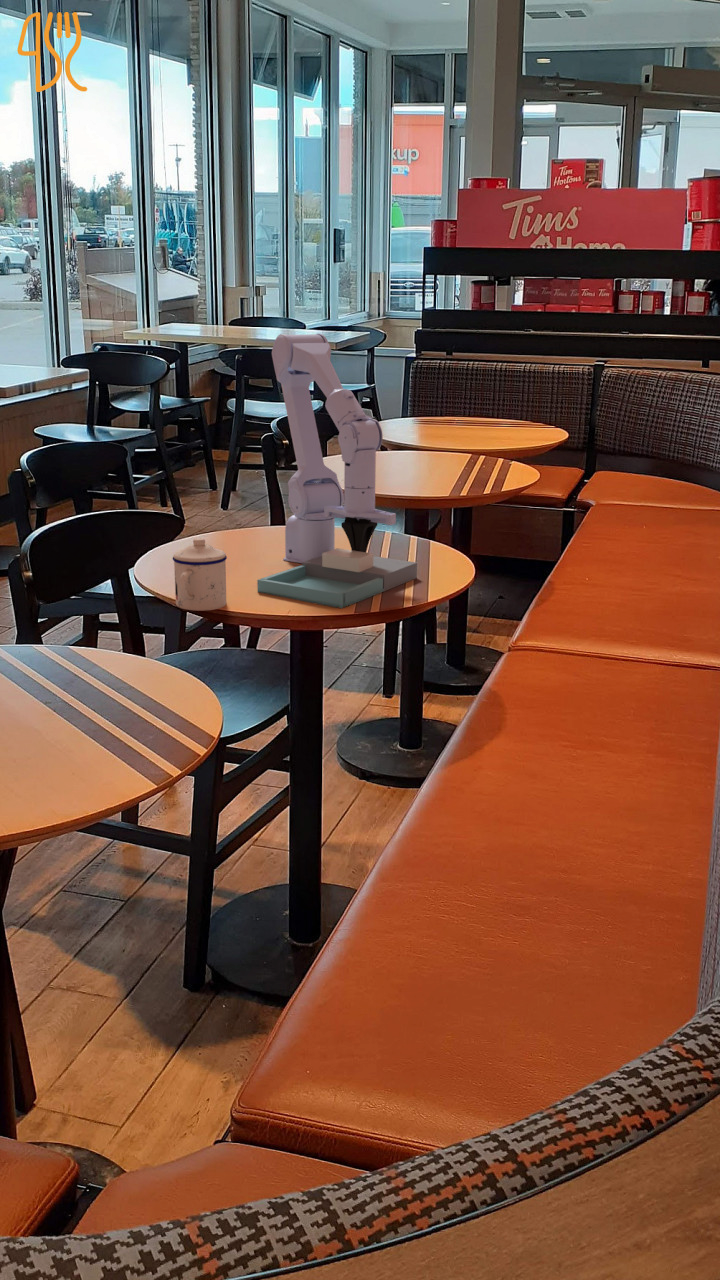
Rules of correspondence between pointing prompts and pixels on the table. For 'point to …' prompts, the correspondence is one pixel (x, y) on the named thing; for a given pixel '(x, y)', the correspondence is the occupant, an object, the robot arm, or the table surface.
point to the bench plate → (366, 572)
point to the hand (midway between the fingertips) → (359, 558)
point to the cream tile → (347, 560)
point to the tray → (317, 588)
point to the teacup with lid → (200, 577)
